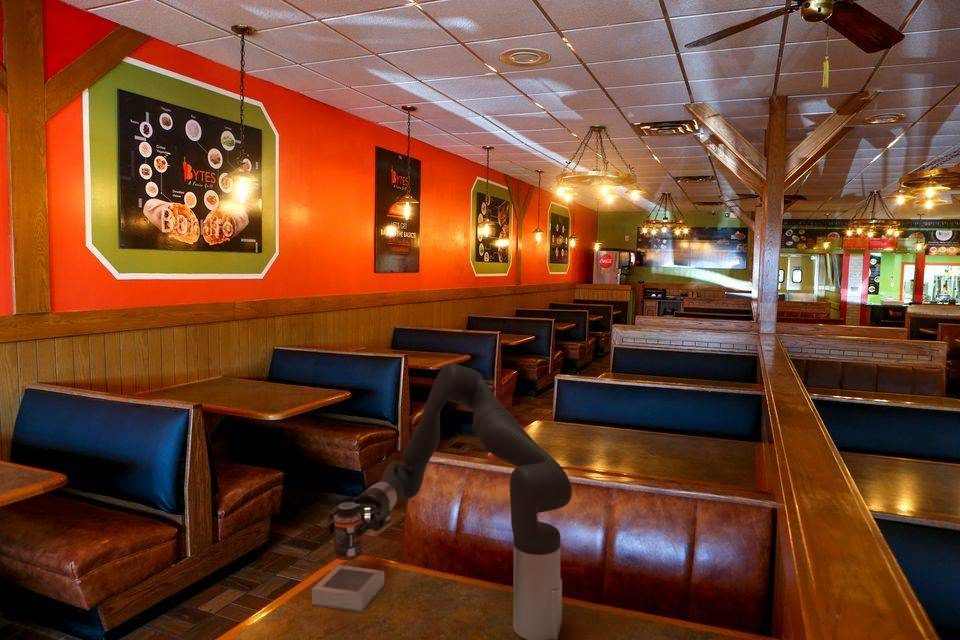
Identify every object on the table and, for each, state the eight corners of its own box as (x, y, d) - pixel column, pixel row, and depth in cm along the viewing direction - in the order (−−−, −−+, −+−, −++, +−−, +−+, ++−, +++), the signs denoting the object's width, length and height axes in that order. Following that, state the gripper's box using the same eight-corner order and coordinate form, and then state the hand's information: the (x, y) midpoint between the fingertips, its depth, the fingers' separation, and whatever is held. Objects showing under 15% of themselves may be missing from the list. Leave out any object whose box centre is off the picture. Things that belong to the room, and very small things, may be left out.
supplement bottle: (359, 561, 136) (358, 510, 135) (331, 561, 136) (330, 510, 135) (365, 549, 142) (363, 500, 141) (338, 549, 142) (337, 500, 141)
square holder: (384, 585, 143) (384, 570, 143) (361, 612, 132) (361, 596, 132) (338, 579, 146) (337, 564, 146) (312, 604, 135) (311, 589, 135)
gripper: (348, 484, 153) (312, 510, 137) (403, 489, 150) (373, 517, 133) (349, 514, 154) (313, 544, 138) (404, 520, 150) (373, 552, 134)
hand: (342, 531), depth 136 cm, fingers closed on supplement bottle, 6 cm apart
